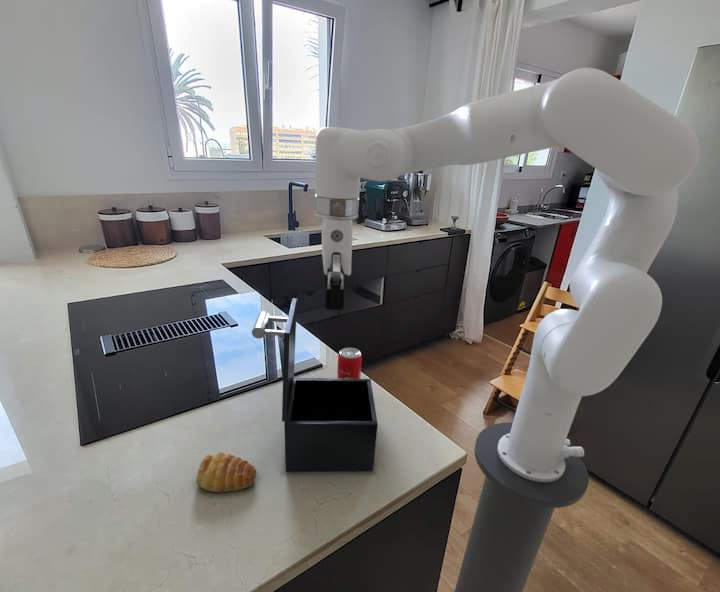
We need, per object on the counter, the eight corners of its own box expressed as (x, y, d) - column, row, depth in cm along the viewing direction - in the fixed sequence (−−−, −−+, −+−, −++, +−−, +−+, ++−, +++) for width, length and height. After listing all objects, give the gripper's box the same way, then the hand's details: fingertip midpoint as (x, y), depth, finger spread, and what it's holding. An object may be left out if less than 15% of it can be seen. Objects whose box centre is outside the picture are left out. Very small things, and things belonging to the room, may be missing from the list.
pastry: (261, 466, 70) (260, 450, 68) (249, 498, 64) (247, 481, 62) (209, 461, 70) (207, 445, 69) (193, 492, 64) (189, 476, 63)
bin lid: (297, 298, 70) (261, 295, 69) (289, 333, 58) (246, 330, 57) (294, 376, 77) (261, 374, 76) (286, 421, 65) (248, 420, 64)
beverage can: (363, 400, 89) (366, 355, 84) (343, 407, 87) (345, 361, 82) (351, 389, 93) (354, 344, 88) (332, 395, 91) (334, 350, 86)
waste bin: (367, 421, 83) (370, 378, 78) (373, 471, 71) (377, 424, 66) (292, 421, 82) (291, 377, 77) (285, 472, 69) (284, 423, 65)
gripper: (363, 217, 60) (356, 318, 67) (354, 200, 76) (350, 283, 83) (314, 215, 59) (313, 317, 67) (315, 198, 75) (314, 282, 82)
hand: (333, 298), depth 75 cm, fingers open, 9 cm apart
